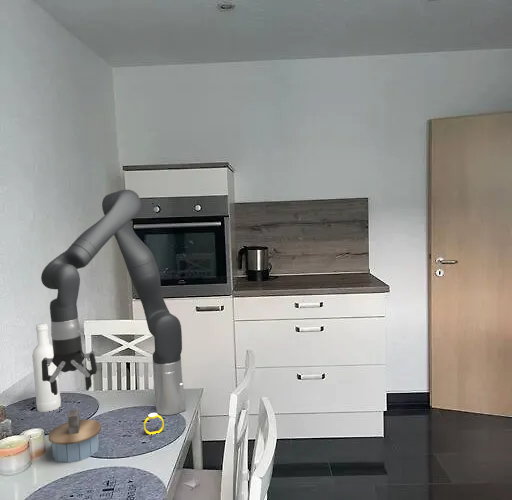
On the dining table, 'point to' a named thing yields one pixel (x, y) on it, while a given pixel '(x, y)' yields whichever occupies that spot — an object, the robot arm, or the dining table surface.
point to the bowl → (75, 450)
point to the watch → (152, 416)
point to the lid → (74, 430)
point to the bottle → (43, 388)
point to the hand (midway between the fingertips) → (71, 391)
